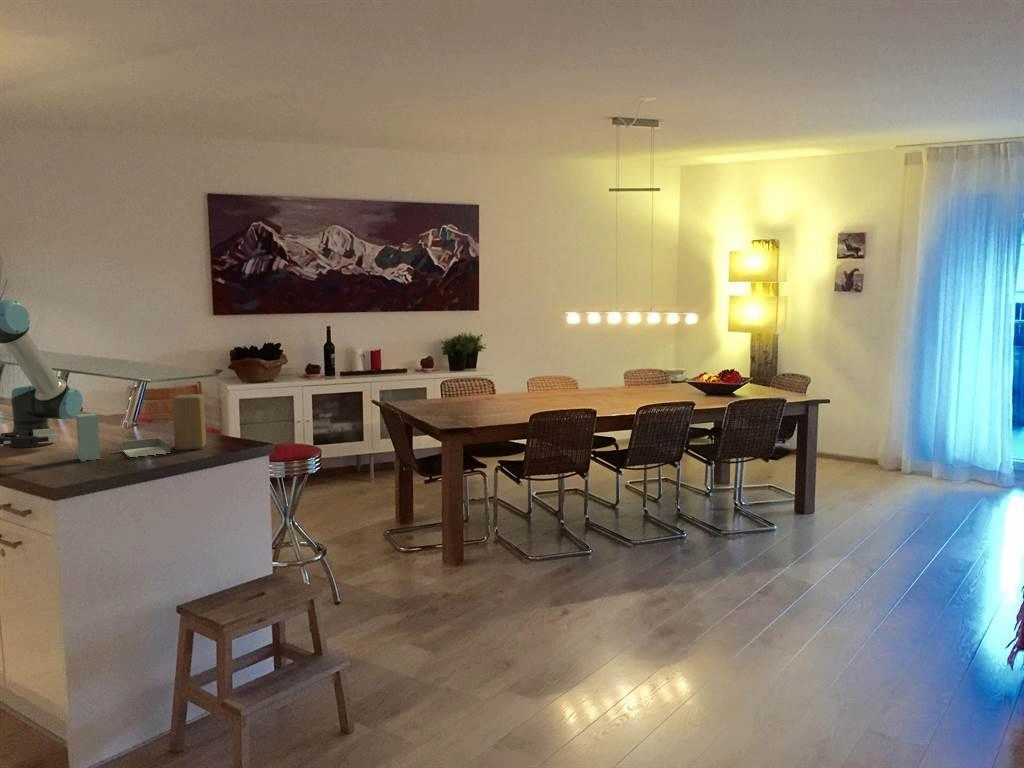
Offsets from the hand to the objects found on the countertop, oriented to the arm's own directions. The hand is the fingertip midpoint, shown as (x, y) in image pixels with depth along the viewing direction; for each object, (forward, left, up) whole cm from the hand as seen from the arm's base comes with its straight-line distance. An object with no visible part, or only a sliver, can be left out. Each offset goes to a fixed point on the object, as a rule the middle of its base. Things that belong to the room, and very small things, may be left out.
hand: (56, 434), depth 299 cm
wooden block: (0, +45, -10) cm, 46 cm away
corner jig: (0, +29, -10) cm, 30 cm away
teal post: (0, +10, -10) cm, 14 cm away
